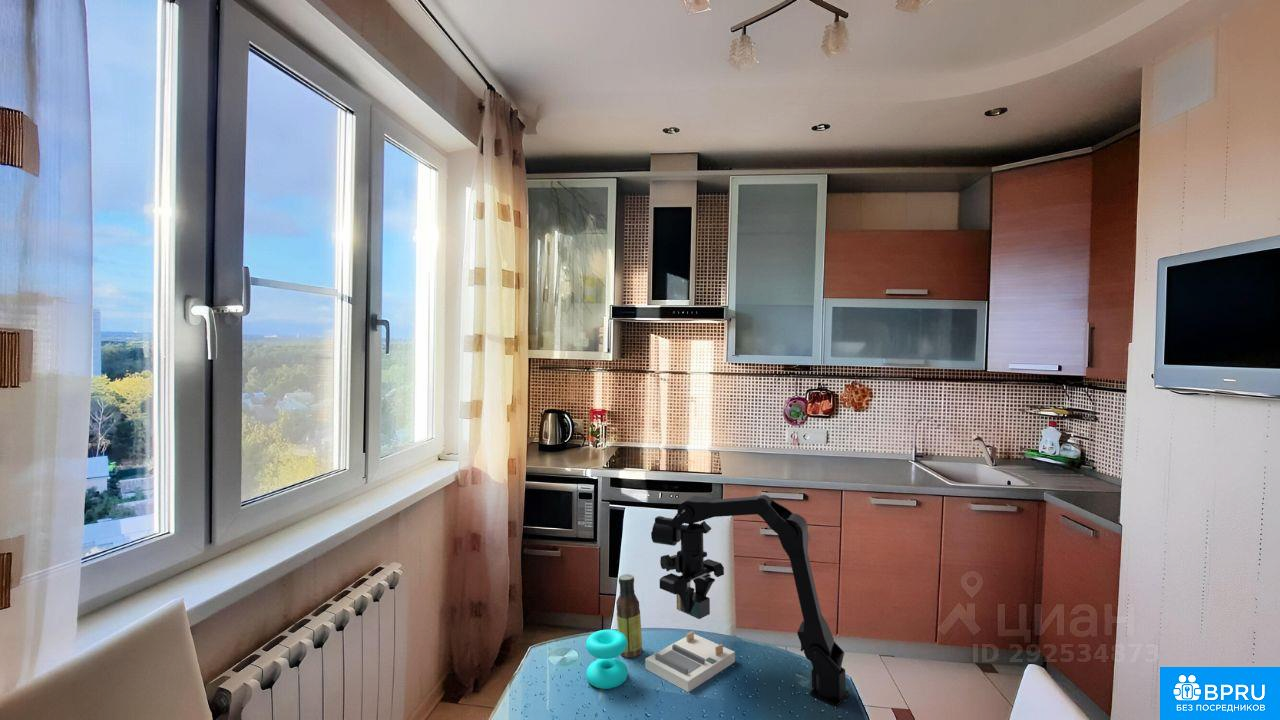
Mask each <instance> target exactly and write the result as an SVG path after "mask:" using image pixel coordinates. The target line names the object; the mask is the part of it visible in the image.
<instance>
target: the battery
mask: <svg viewBox="0 0 1280 720" xmlns="http://www.w3.org/2000/svg"><path fill="white" fill-rule="evenodd" d="M710 602H711V600H710V597H708V596H707V595H706V596H703V595H701V594H698V593H696V592H695V591H694V594H693V599H692V604H691V609H690V612H689V613H686V612H685V609H684V607H683V604H682V601H681V598H680V596H679V594H676V610H677V611H679V612H682V613H684V614H686V615H689V616H691V617H693V618H695V619H698V620H700V619H702V618H704V617H707V616H710V614H711V610H710V609H711V608H710V607H711V603H710Z"/></svg>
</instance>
